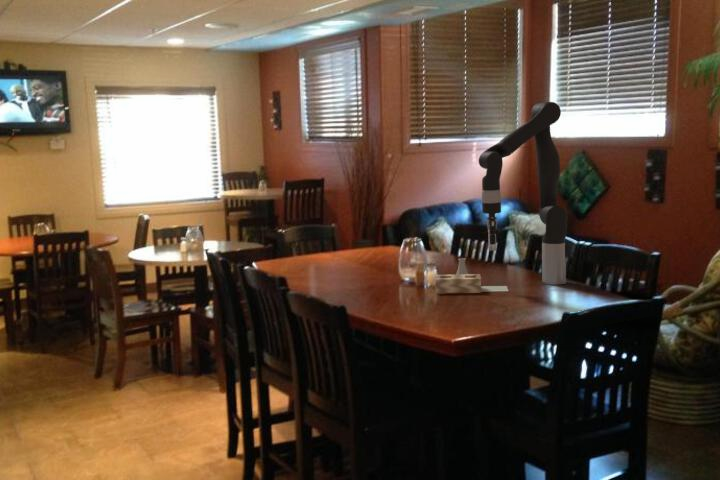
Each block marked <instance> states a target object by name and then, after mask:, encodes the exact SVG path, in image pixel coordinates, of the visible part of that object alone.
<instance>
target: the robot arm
mask: <svg viewBox="0 0 720 480" xmlns="http://www.w3.org/2000/svg"><path fill="white" fill-rule="evenodd" d="M530 113H531V115H530V116H531V117H530V120H528V121H527V122H526V123H524V124H522V125H520V126H518V127H517V128H515V129H514V130H512V131H511V132H509V133H508V134H507V135H505V136H504V137H503V138H502V139H501V140H499V141H498V142H497V143H496V144H494V145H492V146H491V147H488V148H487V149H485V150H484V151H483V152H482V153H481V154H480V155H479V157H478V164H479V166H480V167H481V168H482V169H484V170H486V172H485V175H484V176H483V177H482V179H481V180H482V181H481V182H482V183H481V185H482V186H481V188H482V189H481V190H482V193H481V212H482V213H483V214H485V215H486V214H487V215H488V217H486V222H487V227H486V228H487V230H488V229H489V235H490V244H495V243H496V244H497V240H496V241H495V235H496V236H497V228H498V227H497V222H498V217H497V216H496V214H500V213H502V196H501V184H500V183H501V180H500V179H501V175H502V170H503V165H504V163H503V158H506V157H509V156H511V155H512V154H514V152H516V151H517V150H518V149H520V148H521V146H523V145H524V144H525V143H527V142H528V141H529V140H530V139H532V138H533V137H534V142H535V151H536V152H535V153H536V155H535V156H536V169H537V177H538V179H537V180H538V188H539V191H538V192H539V211H538V214H539V219H540V221H541V222H542V224H544V225H545V232H544V234H543V235H542V237H541V261H542V262H541V264H542V265H541V266H542V267H541V268H542V269H541V271H542V273H541V279H542V280H541V283H542V284H544V285H551V286H552V285H555V286H556V285H557V286H558V285H564V284H565V285H566V284H567V277H566V276H567V267H566V265H567V262H566V252H565V251H566V238H567V233H568V213H567V210H566V208H565V207H563V206H562V205H560V204H559V203H558V197H557V189H558V184H559V180H560V177H561V159H560V154H559V152H558V149H557V147H556V145H555V143H554V141H553V139H552V138H553V137H552V135H551V133H552V132H551V126H552V125H553V124H555V123H556V122H558V120H559V119H560V117H561V115H562V114H561V113H562V110H561V108H560V105H559V104H558V103H556V102H554V101H545V102H544V101H543V102H539V103H536V104H534V106H532V109H531V112H530ZM489 226H490V227H489ZM492 229H494V231H491V230H492Z"/></svg>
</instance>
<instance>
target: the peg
mask: <svg viewBox="0 0 720 480" xmlns="http://www.w3.org/2000/svg"><path fill="white" fill-rule="evenodd" d="M489 227H490V226H489ZM491 231H494V229H492V230H491ZM487 232H488V233H487V234H488V237H487V238H488V239H487V240H488V251H491V252H492V251H497V234H496V235H495V241H496V243H495V244H490V235H489V229H488V228H487Z"/></svg>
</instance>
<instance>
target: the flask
mask: <svg viewBox="0 0 720 480" xmlns="http://www.w3.org/2000/svg"><path fill="white" fill-rule="evenodd" d="M466 260H467V259H466V258H465V257H464V258H463V257H461V258H458V267H457V271H456V274H469V273H468V269H467V266H466Z"/></svg>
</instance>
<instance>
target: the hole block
mask: <svg viewBox="0 0 720 480" xmlns="http://www.w3.org/2000/svg"><path fill="white" fill-rule="evenodd" d="M481 286H482V277H481V273H473V274H472V273H471V274H470V273H468V274H457V273H455V274H436V275H435V291H436V293H435V295H444V294H469V293H470V294H475V293H476V294H477V293H479V294H480V293H482V292H481Z"/></svg>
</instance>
